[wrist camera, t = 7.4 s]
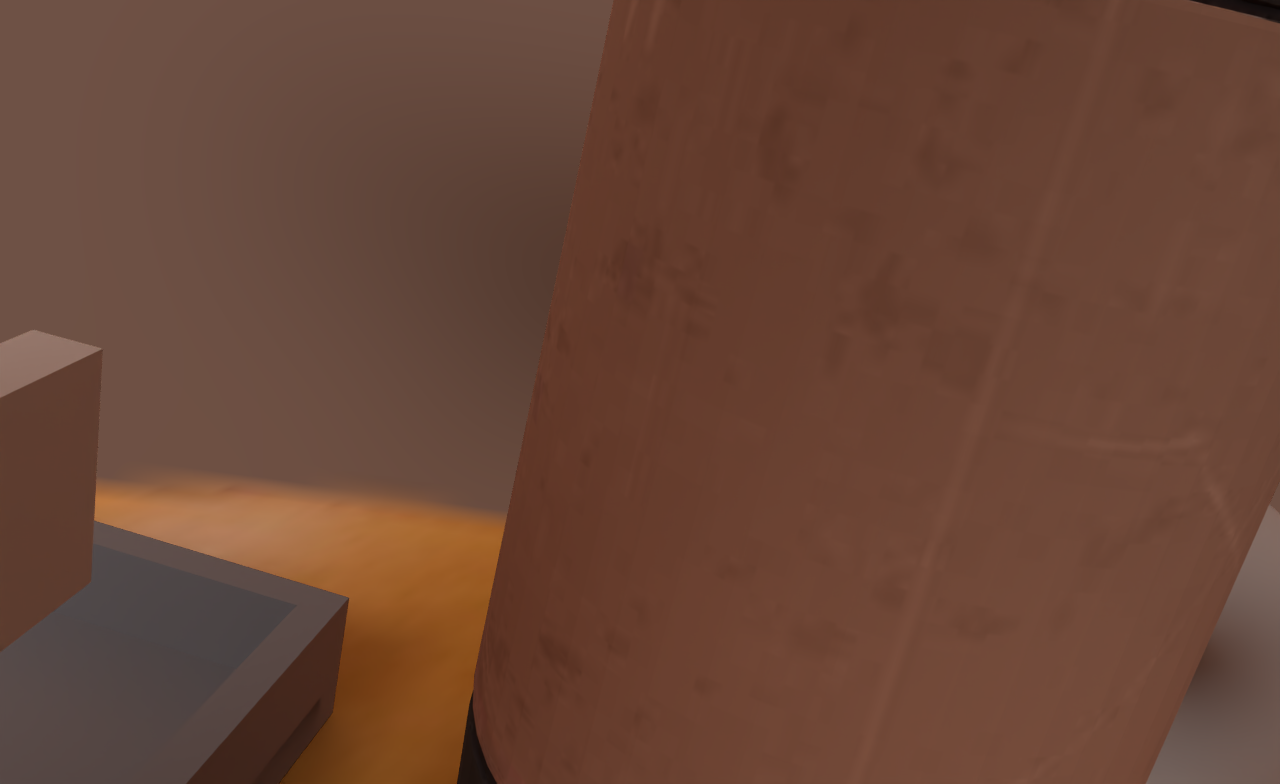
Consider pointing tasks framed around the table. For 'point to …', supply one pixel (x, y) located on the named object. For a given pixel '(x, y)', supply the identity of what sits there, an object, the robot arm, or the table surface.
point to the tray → (169, 672)
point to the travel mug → (893, 395)
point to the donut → (1234, 684)
